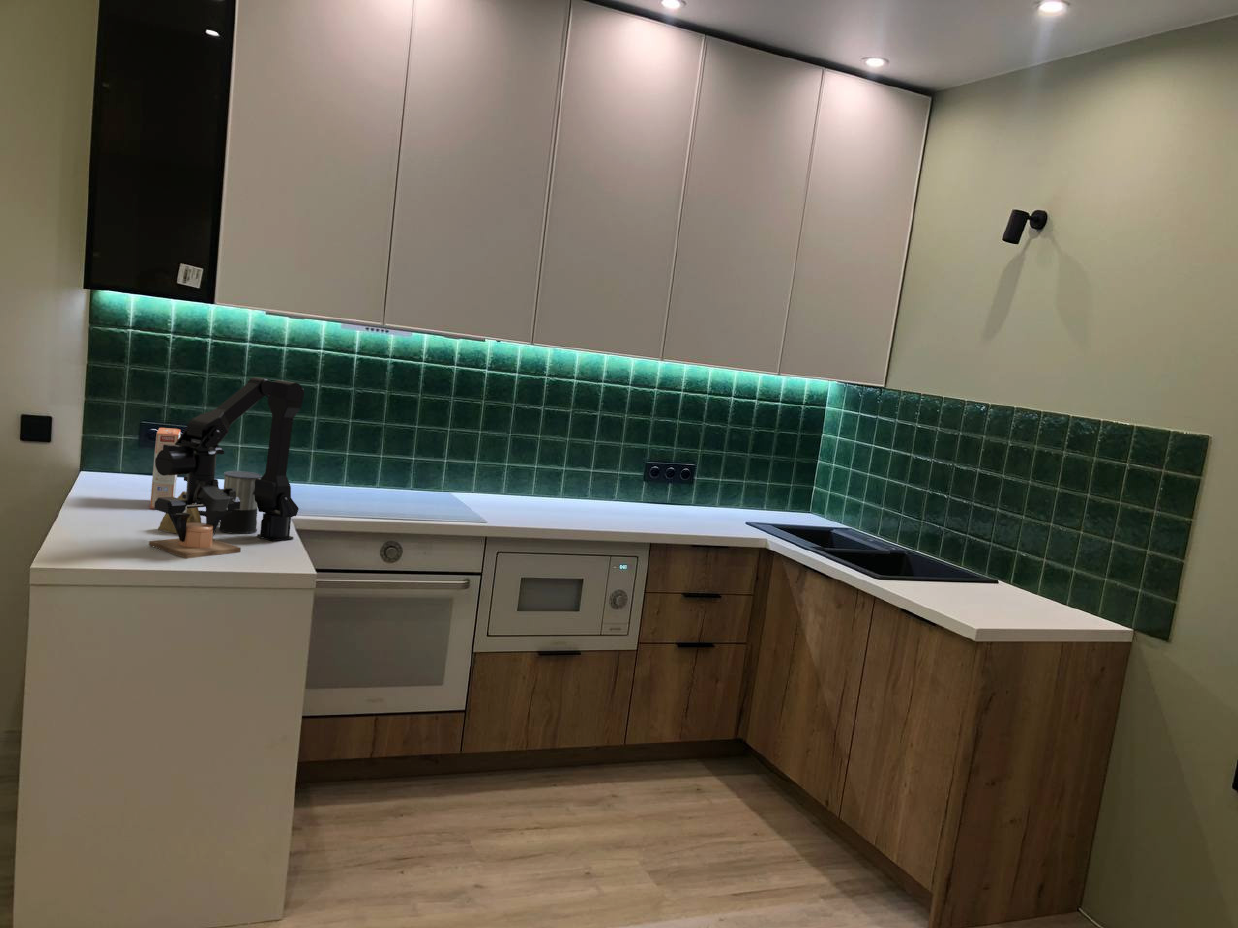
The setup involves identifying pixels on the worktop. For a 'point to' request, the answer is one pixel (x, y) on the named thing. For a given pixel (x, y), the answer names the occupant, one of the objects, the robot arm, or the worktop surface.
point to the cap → (198, 535)
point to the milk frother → (247, 514)
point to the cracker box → (160, 483)
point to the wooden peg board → (190, 552)
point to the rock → (193, 518)
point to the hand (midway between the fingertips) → (195, 540)
